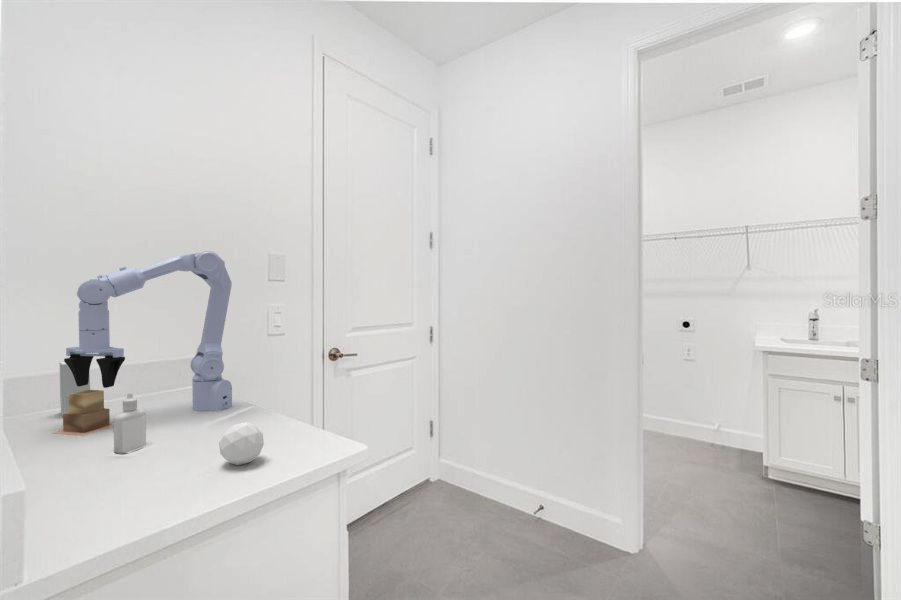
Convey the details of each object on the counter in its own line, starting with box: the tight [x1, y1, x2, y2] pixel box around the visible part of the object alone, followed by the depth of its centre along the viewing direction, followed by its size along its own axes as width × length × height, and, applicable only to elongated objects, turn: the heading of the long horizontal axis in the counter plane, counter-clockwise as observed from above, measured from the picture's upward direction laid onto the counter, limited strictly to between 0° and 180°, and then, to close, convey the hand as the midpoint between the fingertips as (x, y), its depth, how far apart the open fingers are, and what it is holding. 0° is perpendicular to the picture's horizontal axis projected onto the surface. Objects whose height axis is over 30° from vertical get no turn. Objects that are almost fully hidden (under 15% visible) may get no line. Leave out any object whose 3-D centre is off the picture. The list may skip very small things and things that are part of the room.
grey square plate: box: [51, 422, 114, 437], centre depth 107 cm, size 16×16×1 cm
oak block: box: [69, 389, 105, 414], centre depth 104 cm, size 4×4×4 cm
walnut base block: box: [62, 407, 111, 433], centre depth 104 cm, size 6×6×4 cm
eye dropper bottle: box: [113, 392, 147, 456], centre depth 92 cm, size 4×6×12 cm
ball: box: [218, 421, 265, 466], centre depth 85 cm, size 8×8×8 cm
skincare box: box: [59, 361, 91, 417], centre depth 117 cm, size 8×6×15 cm
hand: (95, 386), depth 106 cm, fingers open, 7 cm apart
